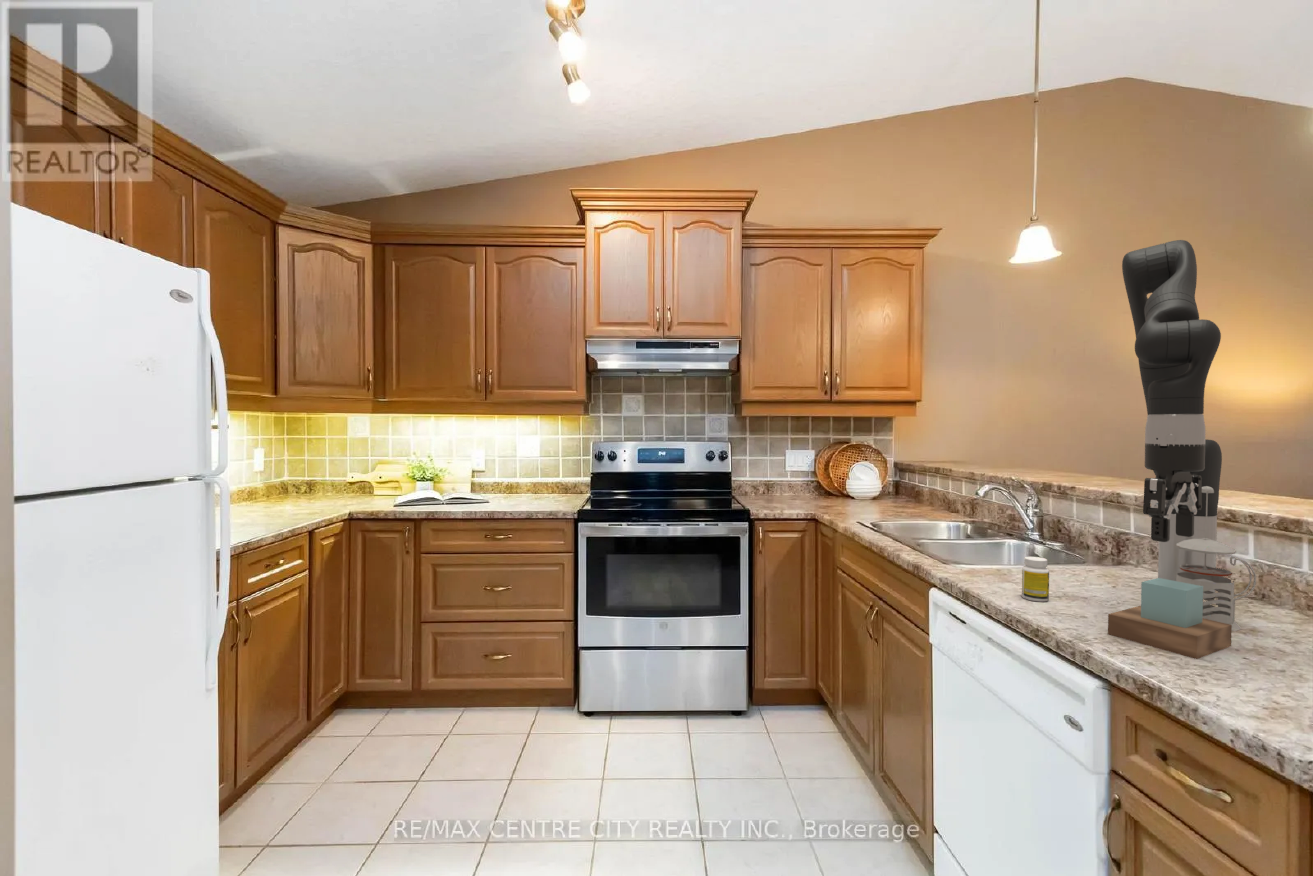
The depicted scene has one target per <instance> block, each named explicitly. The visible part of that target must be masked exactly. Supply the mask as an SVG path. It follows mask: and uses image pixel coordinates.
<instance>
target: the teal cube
mask: <svg viewBox="0 0 1313 876" xmlns="http://www.w3.org/2000/svg"><path fill="white" fill-rule="evenodd" d="M1140 589H1141V590H1140V591H1141V593H1140V597H1141V598H1140V599H1141V600H1140V606H1141V617H1142V618H1146V619H1150V620H1154V621H1159V622H1163V623H1167V624H1171V625H1175V626H1179V627H1183V628H1187V627H1190V626H1193V625H1196V624H1199V623H1202V616H1203V602H1204V599H1203V586H1199V585H1194V584H1188V583H1183V582H1178V581H1172V580H1167V579H1162V578H1158V577H1156V578H1152V579H1149V580H1144V581H1141V587H1140Z"/></svg>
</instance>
